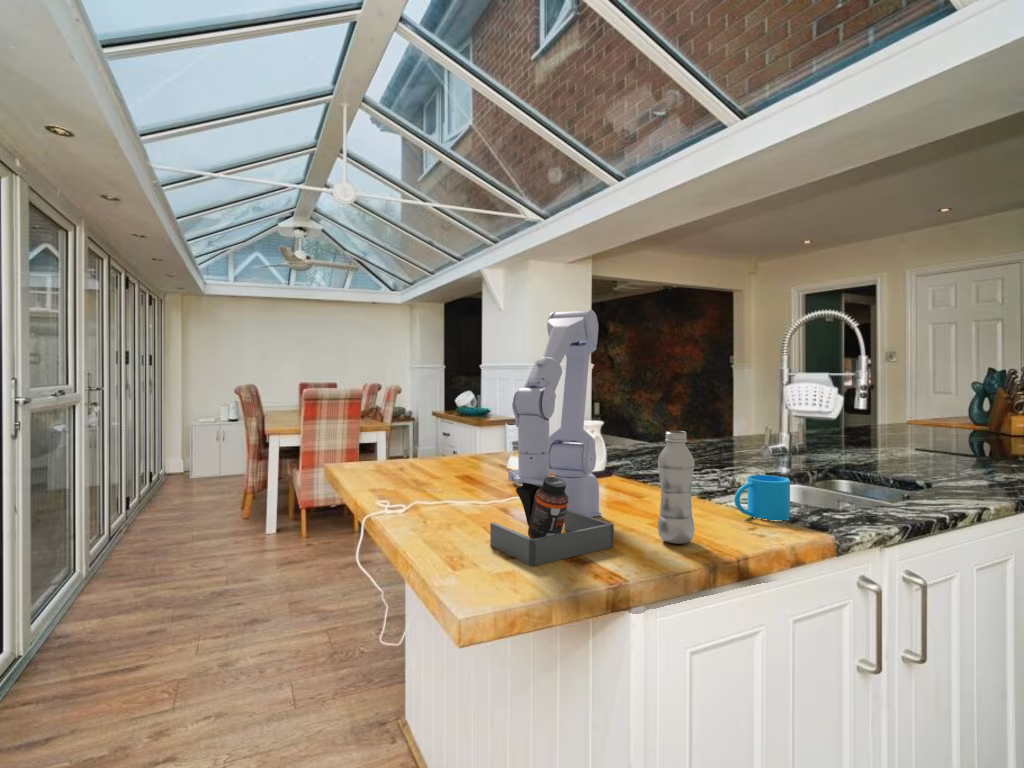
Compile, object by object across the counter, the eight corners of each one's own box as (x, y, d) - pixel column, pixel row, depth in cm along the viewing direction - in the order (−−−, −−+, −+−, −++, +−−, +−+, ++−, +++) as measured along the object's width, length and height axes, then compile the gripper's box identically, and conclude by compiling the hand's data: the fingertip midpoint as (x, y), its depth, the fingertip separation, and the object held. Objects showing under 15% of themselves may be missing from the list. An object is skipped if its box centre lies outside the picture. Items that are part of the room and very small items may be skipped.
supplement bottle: (557, 550, 95) (569, 492, 92) (524, 541, 96) (535, 483, 93) (561, 534, 101) (573, 478, 98) (530, 526, 102) (541, 470, 99)
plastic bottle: (694, 538, 100) (695, 430, 100) (694, 549, 94) (694, 434, 94) (658, 535, 103) (658, 429, 102) (655, 546, 96) (656, 433, 96)
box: (567, 529, 106) (567, 509, 106) (613, 546, 96) (613, 524, 96) (490, 545, 97) (490, 522, 97) (531, 566, 86) (531, 541, 86)
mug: (772, 511, 121) (772, 474, 121) (798, 520, 113) (799, 481, 113) (723, 513, 119) (723, 476, 118) (746, 523, 111) (747, 483, 110)
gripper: (494, 449, 104) (495, 519, 105) (539, 459, 92) (539, 538, 93) (525, 446, 108) (525, 514, 109) (571, 455, 96) (571, 532, 96)
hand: (533, 525), depth 101 cm, fingers closed
